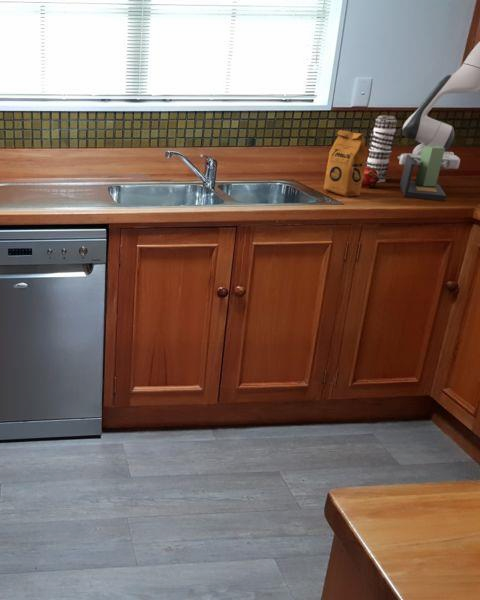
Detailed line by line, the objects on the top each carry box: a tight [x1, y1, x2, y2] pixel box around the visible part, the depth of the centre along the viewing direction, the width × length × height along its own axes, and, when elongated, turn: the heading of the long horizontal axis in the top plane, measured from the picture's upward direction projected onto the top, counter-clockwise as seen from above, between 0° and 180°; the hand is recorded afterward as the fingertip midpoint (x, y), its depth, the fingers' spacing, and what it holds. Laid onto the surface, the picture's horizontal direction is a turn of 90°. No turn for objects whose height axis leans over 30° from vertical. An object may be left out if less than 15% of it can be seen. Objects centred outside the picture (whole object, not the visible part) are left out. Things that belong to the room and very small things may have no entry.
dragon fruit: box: [361, 165, 380, 189], centre depth 234 cm, size 8×8×12 cm
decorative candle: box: [365, 114, 398, 183], centre depth 242 cm, size 9×9×25 cm
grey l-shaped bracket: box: [399, 155, 447, 202], centre depth 223 cm, size 13×22×12 cm, turn 158°
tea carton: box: [414, 146, 445, 186], centre depth 227 cm, size 5×5×14 cm
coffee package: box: [322, 129, 367, 198], centre depth 218 cm, size 10×12×22 cm
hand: (430, 164), depth 226 cm, fingers closed on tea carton, 6 cm apart
